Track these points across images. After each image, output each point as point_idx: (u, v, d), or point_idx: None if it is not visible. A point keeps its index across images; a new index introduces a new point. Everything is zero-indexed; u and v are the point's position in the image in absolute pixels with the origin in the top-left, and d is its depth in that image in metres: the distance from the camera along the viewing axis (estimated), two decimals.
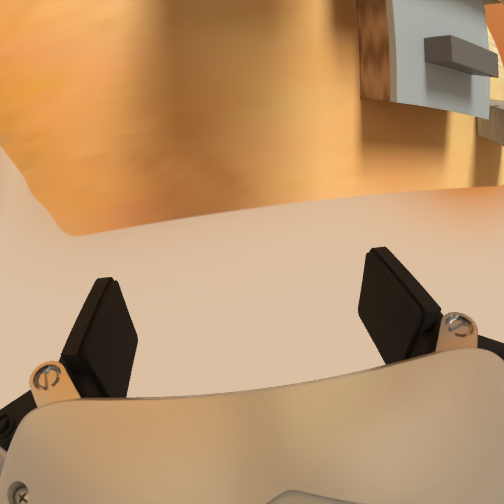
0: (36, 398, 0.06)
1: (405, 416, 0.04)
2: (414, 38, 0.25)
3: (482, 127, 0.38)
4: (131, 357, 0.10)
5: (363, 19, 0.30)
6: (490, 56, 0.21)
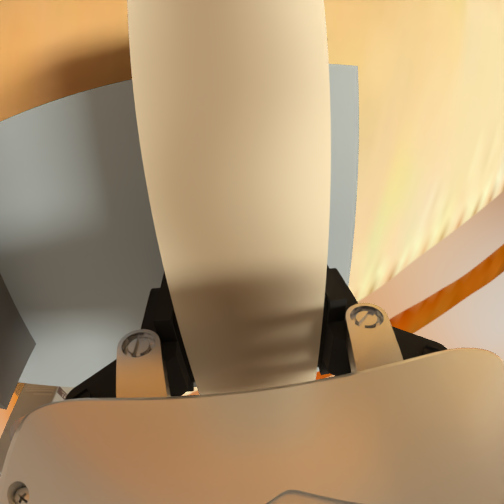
0: (118, 362, 0.07)
1: (404, 416, 0.04)
2: None
3: None
4: None
5: None
6: None
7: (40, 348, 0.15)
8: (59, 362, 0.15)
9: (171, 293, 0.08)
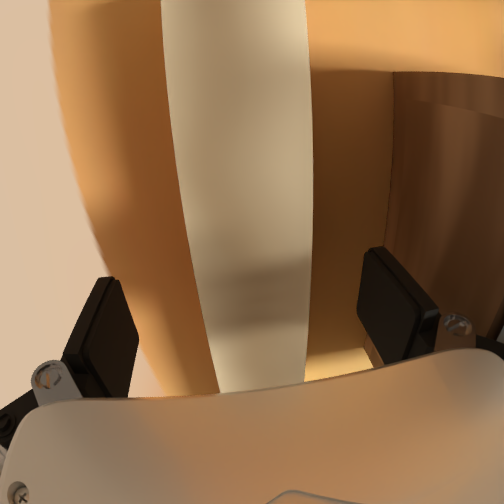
0: (38, 397, 0.06)
1: (405, 416, 0.04)
2: None
3: None
4: (132, 356, 0.10)
5: None
6: None
7: None
8: None
9: (190, 246, 0.10)
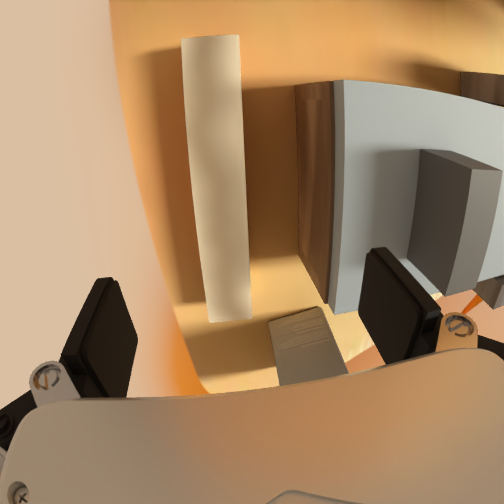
0: (36, 398, 0.06)
1: (404, 417, 0.04)
2: (449, 131, 0.17)
3: (286, 326, 0.33)
4: (131, 357, 0.10)
5: None
6: (474, 271, 0.16)
7: None
8: None
9: (190, 167, 0.22)
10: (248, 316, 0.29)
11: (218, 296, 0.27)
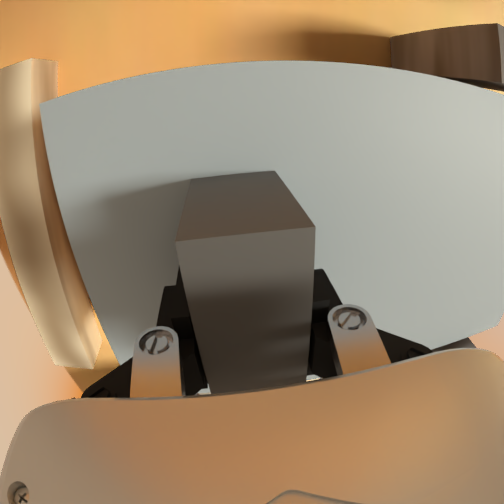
0: (135, 358, 0.07)
1: (404, 416, 0.04)
2: (262, 134, 0.10)
3: None
4: None
5: None
6: None
7: None
8: None
9: (0, 214, 0.16)
10: (88, 366, 0.23)
11: (54, 342, 0.21)
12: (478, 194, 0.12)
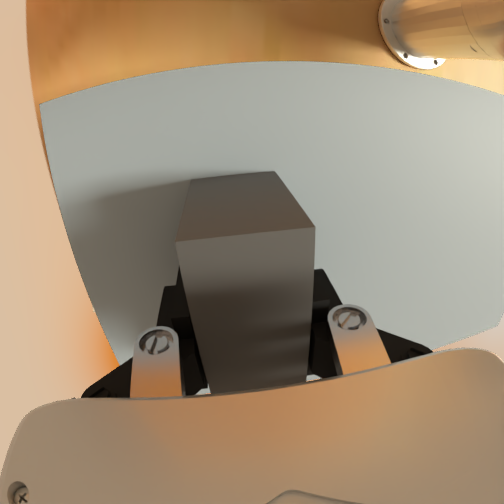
0: (135, 358, 0.07)
1: (405, 416, 0.04)
2: (262, 134, 0.10)
3: None
4: None
5: None
6: None
7: None
8: None
9: None
10: None
11: None
12: (478, 194, 0.12)
